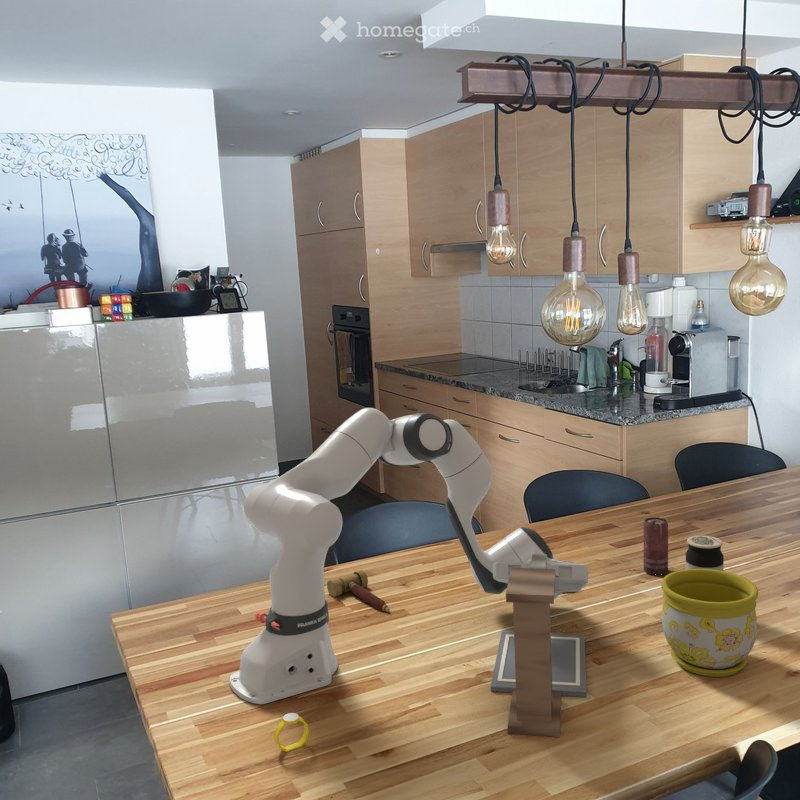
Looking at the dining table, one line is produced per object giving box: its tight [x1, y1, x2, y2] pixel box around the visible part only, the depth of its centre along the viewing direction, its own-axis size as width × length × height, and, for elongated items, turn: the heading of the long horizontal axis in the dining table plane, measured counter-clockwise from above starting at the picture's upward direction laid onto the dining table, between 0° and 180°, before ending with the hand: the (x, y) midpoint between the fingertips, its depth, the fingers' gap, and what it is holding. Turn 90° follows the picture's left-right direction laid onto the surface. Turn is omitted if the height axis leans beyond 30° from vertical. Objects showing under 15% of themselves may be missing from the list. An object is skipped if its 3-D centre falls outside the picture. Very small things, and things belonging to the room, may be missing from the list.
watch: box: [273, 712, 310, 753], centre depth 139 cm, size 6×3×6 cm, turn 119°
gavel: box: [326, 569, 391, 613], centre depth 201 cm, size 21×5×10 cm
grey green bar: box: [531, 554, 547, 569], centre depth 161 cm, size 20×3×3 cm, turn 168°
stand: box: [505, 568, 562, 738], centre depth 143 cm, size 12×9×26 cm
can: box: [643, 517, 669, 576], centre depth 207 cm, size 6×6×14 cm
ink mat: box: [490, 630, 587, 698], centre depth 164 cm, size 24×18×1 cm
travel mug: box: [685, 535, 725, 571], centre depth 180 cm, size 8×8×18 cm
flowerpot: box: [660, 568, 759, 678], centre depth 160 cm, size 18×18×16 cm
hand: (538, 567), depth 165 cm, fingers closed on grey green bar, 3 cm apart
